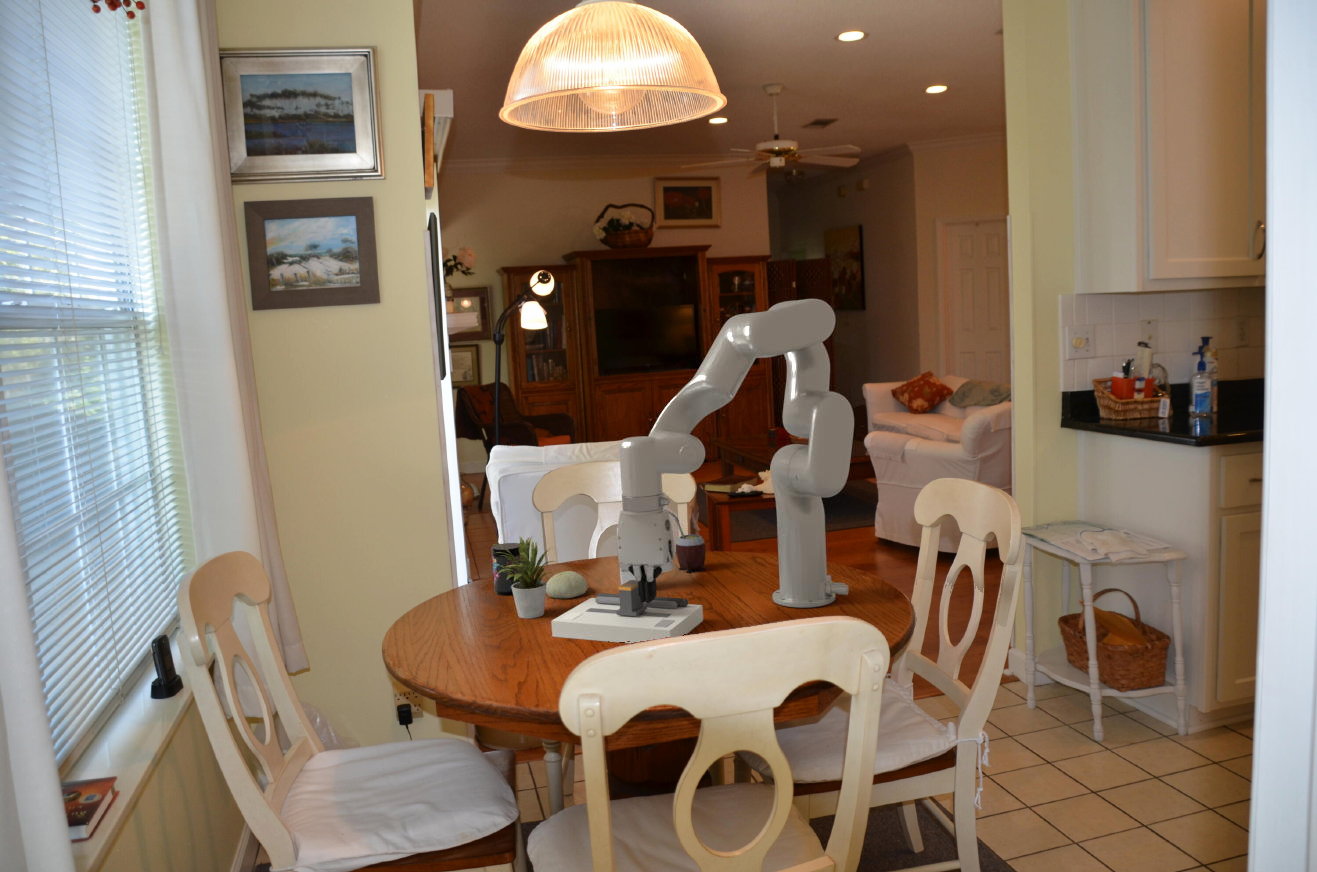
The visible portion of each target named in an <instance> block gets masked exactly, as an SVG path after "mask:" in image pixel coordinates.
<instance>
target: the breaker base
mask: <svg viewBox="0 0 1317 872" xmlns="http://www.w3.org/2000/svg"><path fill="white" fill-rule="evenodd" d="M643 604H646V605H647V609H646V610H645V611H643V612H642V613H640V614H639V615H637V616H626V615H617V612H616V611H617V610H618V609H620V598H619V593H607V592H599V593H597V595H596V597H590V598H588V599H587V600H585V601H583V602H581V603H580V604H578V605H576V606H575V607H573V608H571V609H569V610H568V611H566V612H564V613H562V614H561V615H559V616H558V617H555V618H554V619H552V620H551V621H550V622H551V623H550V624H551V633H552V635H551V636H552V637H554V638H565V639H574V640H576V639H578V640H585V641H586V640H588V641H600V642H608V641H609V642H611V643H619V642H625V643H624V644H631V643H634V642H640V641H647V640H653V639H660V638H665V637H676V636H680V635H684V634H686V635H687V634H689V633H690V632H691V631H693V629H695V628H696V627H697V626H698V625H700V624H701V623H702V622H703V621H704V614H703V613H704V612H703V611H704V610H703V604H692V603H691V604H689V600H688V599H687V598H685V597H684V598H683V597H682V598H680V597H667V596H666V597H664V596H656V597H655V599H654V600H653V601H651V602H650V603H646V602H644V603H643ZM627 641H630V642H627Z"/></svg>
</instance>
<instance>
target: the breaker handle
mask: <svg viewBox="0 0 1317 872" xmlns="http://www.w3.org/2000/svg"><path fill="white" fill-rule="evenodd" d="M618 594H619V598H620V609H618V610H617V611H616V612H617V615H626V616H637V615H639V614H640V613H642V612H643V611H645V610H646V609H647V605H646V604H643V602H641V599H640V596H639V591H638V581H636V580H629V581H628V582H626V583H624V584H622V585H621V584H620V585H619V586H618Z"/></svg>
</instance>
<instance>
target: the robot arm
mask: <svg viewBox="0 0 1317 872" xmlns="http://www.w3.org/2000/svg"><path fill="white" fill-rule="evenodd" d="M835 325H836V314H835V312H834V310H833V308H832V307H831V305H829V304H828V302H826V301H824V300H822V299H820V298H819V299H818V298H805V299H798V300H786V301H782V302H778V303H776V304H774V305H772V306H771V307H770V308H769V309H768V310H766V311H760V312H750V313H741V314H736V315H734V316H731V317H730V318H729V319H728V320H727V321H725V323H724V324H723V326H722V327H721V329H720V331H719V333H718V335H717V336H716V337H715V339H714V341H713V343H712V345H711V347H710V348H709V350H708V352H707V354H706V356H705V358H703V361H702V362H701V364H700V366H699V368H697V369H698V370H697V371H696V373H695V374H694V376H693V378H691V380H690V381H689V382H688V383H687V384H685V385H684V386H683V387H682V388H681V389H680V391H678V393H677V394H675V396H674V397H673V398H672V399H671V400H670V402H668V403H667V405H666V406H665V407H664V409H663V410H662V411H661V413H660V414H659V416H658V418H656V421H655V423H654V425H653V427H652V429H651V430H650V432H649V434H648V436H643V435H642V436H631V437H630V436H629V437H626V438H623V439H622V440H621V441H620V442H619V446H618V448H619V449H618V450H619V467H620V482H621V483H620V485H621V503H622V510H620V511H619V515H618V524H617V527H618V533H617V532H616V541H617V542H616V543H617V544H616V545H617V546H616V547H617V548H616V549H617V551H616V552H617V558H618V567H619V569H620V568H621V569H624V570H627V571H630V572H631V573H632V574H633V576H634V577H635V580H636V581H638V591H639V596H640V599H641V602H643V603H644V602H646V603H650V602H651V601H653V600H654V599H655V597H657V596H658V595H657V593H658V592H657V590H658V589H657V579H658V578H659V576H660V575H661V574H662V573H667V572H671V571H673V570H674V568H675V565H674V561H673V560H675V557H676V545H675V538H674V531H673V526H672V521H671V517H670V514H669V513H668V511H669V510H668V509H664V508H665V506H669V505H670V504H671V503H670V502H671V500H670V498H669V497H665V496H664V493H663V477H662V475H663V474H667V475H668V474H672V475H674V474H675V475H687V474H690V473H693V472H695V471H697V470H699V468H700V467H701V466H702V464H703V463H704V461H705V458H706V449H705V446H704V444H703V443H702V441H701V440H700V439H699V438H698V437H697V436H694V435H692V434H691V433H692V431H693V430H694V429H695V427H697V425H698V424H699V423H700V422H701V421H702V420H703V419H704V418H705V417H706V416H708V415H710V414H711V413H714V412H715V411H717V410H720V409H721V408H722V407H724V406H726V405H727V404H729V403H730V402H731V401H732V400H733V399H734V397H735V396H736V394H737V392H738V390H739V389H740V387H741V386H742V383H743V382H744V379H745V378H746V376H747V375H748V372H749V371H750V369H751V367H752V366H753V365H754V362H755V360H756V359H759V358H760V359H762V358H765V359H766V358H772V357H776V356H780V355H784V358H785V360H786V361H785V362H786V363H785V364H786V382H785V390H784V400H783V409H782V424H783V427H784V429H785V431H787V433H788V434H790V435H792V436H794V437H797V438H802V439H807V440H808V444H798V443H792V444H787V445H785V446H782V447H781V448H779V449H778V450H777V451H776V452H775V453H774V455H773V457H772V460H771V462H770V467H769V469H770V471H769V472H770V474H769V475H770V480H771V484H772V489H773V494H774V498H775V499H774V500H775V508H776V523H777V524H776V527H777V529H776V530H777V551H778V554H777V555H778V573H779V574H778V575H779V589H777V590H775V591H774V592H773V593H772V601H773V602H774V603H776V604H778V605H779V606H784V607H789V608H801V609H802V608H816V607H822V606H826V605H830V604H831V603H832V604H833V603H834V601H835V600H836V595H837V594H838V595H841V596H843V595H844V596H845V595H846V596H848V594H849V591H850V589H849V585H848V584H846V583H845V582H834V581H833V580H832V575H829V574H828V571H827V547H826V545H827V543H826V540H827V539H826V515H825V508H824V504H823V500H822V498H831V497H833V496H836V495H837V494H839V493H840V492H841V491H842V490H843V488H845V485H846V483H847V480H848V477H849V472H850V465H851V458H852V456H851V455H852V448H853V439H854V431H855V429H854V428H855V417H854V416H855V415H854V411H853V408H852V405H851V403H850V402H849V400H848V399H847V398H846V397H845V396H844V395H842V394H840V393H838V392H836V391H830V380H831V379H830V376H831V375H830V374H831V363H830V357H829V354H828V351H827V349H826V346H825V345H824V343H823V342H824V341H826V340H827V339H828V338H829V337H830V336H831V335H832V333H833V331H834V330H835V329H834V328H835ZM619 561H620V562H619ZM645 565H647V573H646V568H645Z"/></svg>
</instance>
